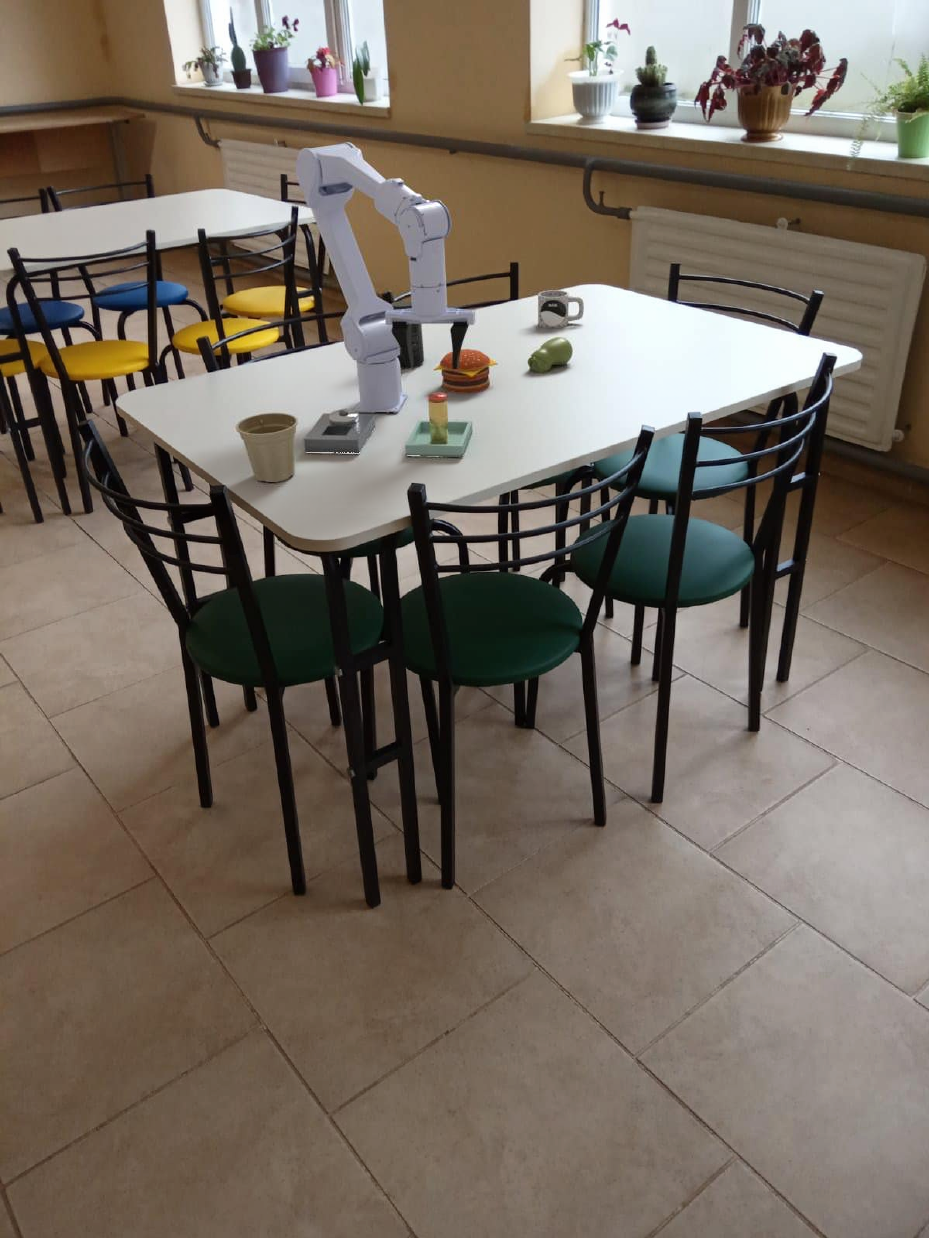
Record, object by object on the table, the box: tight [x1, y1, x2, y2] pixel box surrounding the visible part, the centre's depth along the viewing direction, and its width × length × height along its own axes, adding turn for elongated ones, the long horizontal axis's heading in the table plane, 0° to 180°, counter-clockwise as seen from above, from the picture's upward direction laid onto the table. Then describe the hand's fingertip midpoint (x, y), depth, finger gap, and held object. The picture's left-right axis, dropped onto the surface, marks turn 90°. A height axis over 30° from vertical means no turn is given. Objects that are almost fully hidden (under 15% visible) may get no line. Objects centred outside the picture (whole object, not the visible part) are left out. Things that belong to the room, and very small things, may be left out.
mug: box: [537, 289, 585, 329], centre depth 226 cm, size 10×7×7 cm
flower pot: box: [235, 412, 299, 483], centre depth 159 cm, size 9×9×9 cm
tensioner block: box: [303, 408, 376, 453], centre depth 172 cm, size 12×9×4 cm
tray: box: [405, 419, 473, 458], centre depth 169 cm, size 11×9×2 cm
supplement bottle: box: [390, 300, 425, 369], centre depth 205 cm, size 7×7×12 cm
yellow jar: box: [427, 391, 449, 444], centre depth 167 cm, size 3×3×8 cm
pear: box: [527, 336, 573, 374], centre depth 201 cm, size 6×5×10 cm
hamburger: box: [433, 348, 499, 394], centre depth 193 cm, size 9×10×7 cm
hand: (433, 367), depth 171 cm, fingers open, 7 cm apart
